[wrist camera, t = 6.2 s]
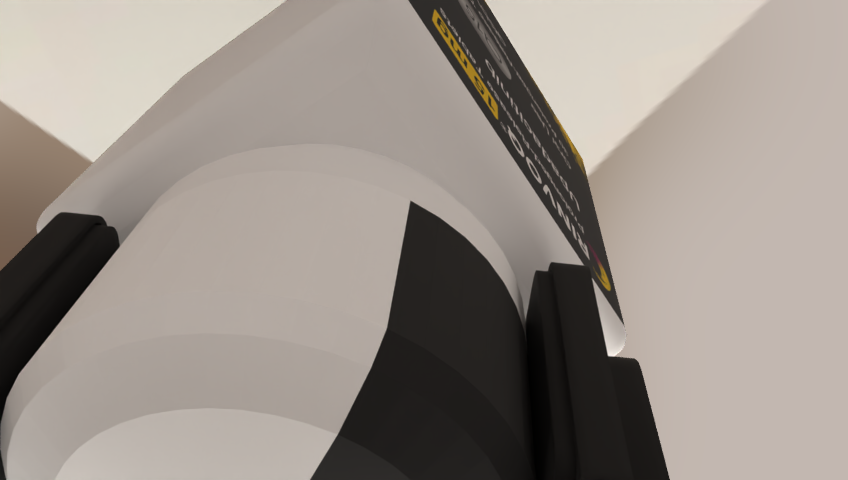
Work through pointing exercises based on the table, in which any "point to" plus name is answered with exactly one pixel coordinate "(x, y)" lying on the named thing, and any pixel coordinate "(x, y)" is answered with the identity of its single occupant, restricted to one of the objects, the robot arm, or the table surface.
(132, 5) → the table surface
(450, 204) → the medicine bottle
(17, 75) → the table surface
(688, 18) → the table surface
